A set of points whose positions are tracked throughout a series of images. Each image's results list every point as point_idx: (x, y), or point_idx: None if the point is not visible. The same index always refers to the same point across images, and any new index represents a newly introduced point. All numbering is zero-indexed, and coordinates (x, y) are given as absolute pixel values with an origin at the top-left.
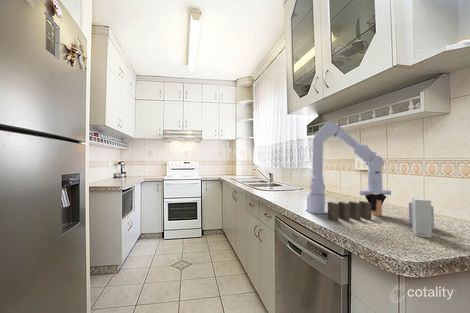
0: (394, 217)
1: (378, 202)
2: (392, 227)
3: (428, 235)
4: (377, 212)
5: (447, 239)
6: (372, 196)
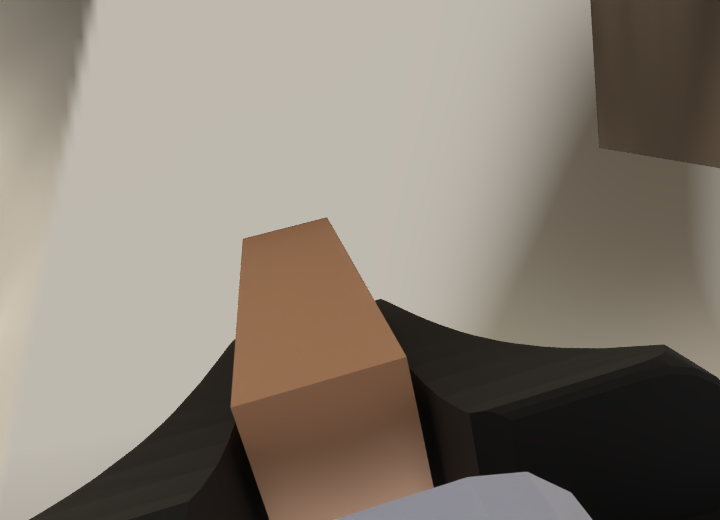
0: (31, 130)
1: (349, 337)
2: None
3: None
4: (338, 239)
5: None
6: (670, 466)
